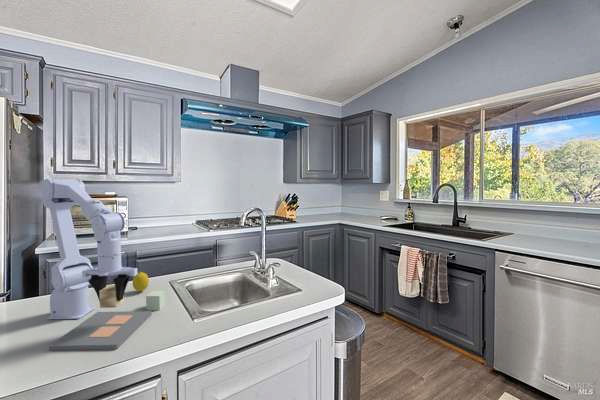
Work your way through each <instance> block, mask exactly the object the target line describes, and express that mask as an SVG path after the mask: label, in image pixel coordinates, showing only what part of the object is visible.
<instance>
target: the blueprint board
mask: <svg viewBox="0 0 600 400" xmlns="http://www.w3.org/2000/svg"><path fill="white" fill-rule="evenodd" d="M151 316H152V310H145V311H144V310H143V311H141V310H140V311H139V310H138V311H134V310H132V311H131V310H128V311H96V312H95V313H94V314H93V315H91V316H89V317H88V318H87V319H85V320H84V321H82V322H81V323H79V324H78V325H76V326H75V327H74V328H73V329H71V330H69V331H68V332H67V333H65V334H63V336H61V337H59V338H58V339H57V340H55V341H54V342H52V343H51V344H49V346H48V351H79V350H80V351H89V350H96V351H97V350H118V349H119V348H120V347H121V346H122V345H123V344H124V343H125V342H126V341H127V340H128V339H129V338H130V337H131V336H132V335H133V334H134V333H135V332H136V331H137V330H138V329H139V328H140V327H141V326H142V325H143V324H144V323H145V322H146V321H147V320H148V319H149V318H150V317H151Z"/></svg>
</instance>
